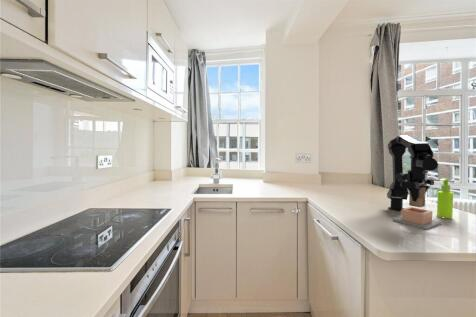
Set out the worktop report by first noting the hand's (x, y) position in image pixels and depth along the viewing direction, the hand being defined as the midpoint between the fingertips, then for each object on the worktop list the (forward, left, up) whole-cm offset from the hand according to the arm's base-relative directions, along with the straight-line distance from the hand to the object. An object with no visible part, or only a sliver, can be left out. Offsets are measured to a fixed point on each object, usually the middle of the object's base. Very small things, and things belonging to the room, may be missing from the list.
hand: (417, 200), depth 109 cm
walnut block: (0, 0, -3) cm, 3 cm away
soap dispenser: (-21, +3, -11) cm, 24 cm away
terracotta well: (0, 0, -11) cm, 11 cm away
